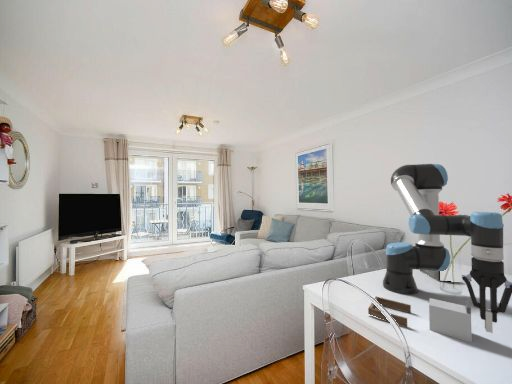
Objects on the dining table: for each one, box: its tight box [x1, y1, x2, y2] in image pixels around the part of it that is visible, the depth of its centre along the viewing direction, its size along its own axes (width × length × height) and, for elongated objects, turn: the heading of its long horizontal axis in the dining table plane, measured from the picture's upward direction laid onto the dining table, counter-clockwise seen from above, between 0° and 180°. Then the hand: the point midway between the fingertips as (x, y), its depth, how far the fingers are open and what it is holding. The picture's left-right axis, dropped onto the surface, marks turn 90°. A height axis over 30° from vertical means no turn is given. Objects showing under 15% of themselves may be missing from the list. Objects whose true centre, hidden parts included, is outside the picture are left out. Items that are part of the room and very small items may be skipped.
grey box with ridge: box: [428, 297, 473, 343], centre depth 81 cm, size 7×11×11 cm, turn 51°
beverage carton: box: [419, 270, 440, 282], centre depth 136 cm, size 8×19×7 cm, turn 172°
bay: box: [367, 296, 412, 328], centre depth 92 cm, size 14×13×3 cm
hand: (488, 330), depth 75 cm, fingers closed
